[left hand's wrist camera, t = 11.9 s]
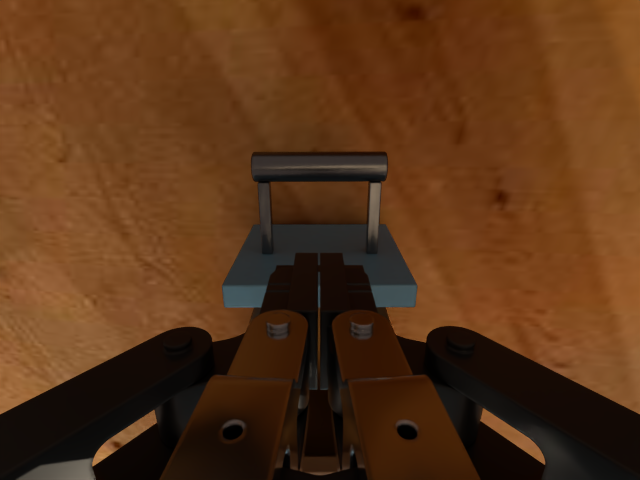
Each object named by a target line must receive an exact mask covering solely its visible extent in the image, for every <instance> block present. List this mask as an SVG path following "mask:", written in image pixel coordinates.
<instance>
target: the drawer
mask: <svg viewBox="0 0 640 480" xmlns="http://www.w3.org/2000/svg"><path fill="white" fill-rule="evenodd" d="M387 172H388V157H387V153H386V152H253V153H252V157H251V173H252V178H253V180H254V181H255V182H258V197H259V213H260V225H253V227H252V229H251V231H250V233H249V235H248V237H247V239H246V241H245V243H244V244H243V246H242V248H241V250H240V252H239V254H238V256H237V258H236V260H235V262H234V264H233V266H232V267H231V269H230V271H229V273H228V275H227V277H226V279H225V281H224V283H223V285H222V291H223V300H224V307H254V310H253V313H252V316H251V319H250V322H251V321H252V320H253V319H254V318H255V317H256V316H258V315H259V313H260V310H261V306H262V303H263V299H264V296H265V292H266V288H267V285H268V281H269V278H270V275H271V274H272V273H273V272H274V271H275V270H277V269H278V268H279V267H293V266H294V260H295V253H318V384H317V390H309V423H308V431H307V438H306V446H305V454H304V457H336V454H335V446H334V438H333V431H332V423H331V407H330V404H329V401H328V390H320V253H343V260H344V267H359V268H360V269H361V270H363V271H364V272H365V273H366V274H367V275H368V278H369V282H370V285H371V289H372V293H373V297H374V300H375V304H376V308H377V312H378V314H380V315H382V316H384V317H385V318H386V319H387V320H388V321H389V322H390V320H389V317H388V314H387V310H386V307H415V304H416V294H417V284H416V282H415V280H414V278H413V276H412V274H411V272H410V270H409V268H408V267H407V265H406V263H405V261H404V259H403V257H402V255H401V253H400V251H399V249H398V247H397V245H396V243H395V241H394V239H393V238H392V236H391V234H390V232H389V230H388V228H387V226H386V225H385V224H379V218H380V201H381V181H385V180H386V178H387ZM358 181H369V182H368V204H367V224H273V221H272V201H271V182H358ZM250 322H249V324H250ZM390 324H391V323H390Z"/></svg>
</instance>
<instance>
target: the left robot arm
mask: <svg viewBox="0 0 640 480" xmlns="http://www.w3.org/2000/svg"><path fill="white" fill-rule="evenodd" d="M317 384H318V253H295V260H294V266H293V267H279V268H278V269H277V270H275V271H274V272H273V273H272V274H271V275H270V278H269V281H268V285H267V288H266V292H265V296H264V299H263V303H262V306H261V310H260V313H259V315H258V316H256V317H255V318H254V319H253V320H252V321H251V322H250V324H249V326H248V328H247V330H246V333H244V334H242V335H240V336H237V337H234V338H231V339H226V340H221V341H216V342H212V338H211V335H210V334H209V333H208V332H207V331H205V330H203V329H201V328H196V327H181V328H176V329H172V330H169V331H166V332H164V333H161V334H159V335H157V336H155V337H153V338H151V339H149V340H147V341H145V342H143V343H141V344H140V345H138V346H136V347H134V348H132V349H130V350H128V351H126V352H124V353H122V354H120V355H118V356H116V357H114V358H112V359H110V360H108V361H106V362H104V363H102V364H100V365H98V366H96V367H94V368H92V369H90V370H88V371H86V372H84V373H82V374H80V375H78V376H76V377H74V378H72V379H70V380H68V381H66V382H64V383H62V384H60V385H58V386H56V387H54V388H52V389H50V390H48V391H46V392H44V393H42V394H40V395H38V396H36V397H34V398H32V399H30V400H28V401H26V402H24V403H22V404H20V405H18V406H16V407H14V408H12V409H10V410H8V411H6V412H4V413H2V414H0V480H640V414H638V413H636V412H634V411H632V410H630V409H628V408H626V407H624V406H622V405H620V404H618V403H616V402H614V401H612V400H610V399H608V398H606V397H604V396H602V395H600V394H598V393H596V392H594V391H592V390H590V389H588V388H586V387H584V386H582V385H580V384H578V383H576V382H574V381H572V380H570V379H568V378H566V377H564V376H562V375H560V374H558V373H556V372H554V371H552V370H550V369H548V368H546V367H544V366H542V365H540V364H538V363H536V362H534V361H532V360H530V359H528V358H526V357H524V356H522V355H520V354H518V353H516V352H514V351H512V350H510V349H508V348H506V347H504V346H502V345H500V344H498V343H497V342H495V341H493V340H491V339H489V338H487V337H485V336H483V335H481V334H479V333H477V332H474V331H472V330H469V329H466V328H462V327H456V326H444V327H439V328H436V329H434V330H432V331H431V332H430V333H429V334H428V336H427V341H426V343H425V342H420V341H415V340H410V339H406V338H403V337H400V336H397V335H395V333H394V330H393V328H392V326H391V324H390V322H389V321H388V320H387V319H386V318H385V317H384V316H382V315H380V314H378V312H377V308H376V304H375V300H374V297H373V293H372V289H371V285H370V282H369V278H368V275H367V274H366V273H365V272H364V271H363V270H361V269H360V268H359V267H344V260H343V253H320V390H328V401H329V404H330V407H331V423H332V431H333V438H334V446H335V454H336V462H337V470H338V472H334V473H330V474H326V475H314V474H310V473H306V472H302V470H303V462H304V454H305V446H306V438H307V431H308V423H309V390H317ZM483 408H484V409H486V410H488V411H489V412H491V413H492V414H494V415H495V416H497V417H498V418H500V419H501V420H503V421H504V422H506V423H507V424H509V425H510V426H512V427H513V428H515V429H517V430H518V431H520V432H521V433H523V434H524V435H526V436H527V437H529V438H530V439H531V440H532V441H533V442H535V444H536V445H537V446H538V447H539V448H540V450H541V451H542V453H543V455H544V458H545V465H544V464H542V463H541V462H539V461H538V460H536V459H535V458H534V457H532V456H531V455H529V454H528V453H526V452H525V451H523V450H522V449H520V448H519V447H517V446H516V445H515V444H513V443H512V442H510V441H509V440H507V439H506V438H504V437H503V436H501V435H500V434H499V433H497V432H496V431H494V430H493V429H491V428H490V427H488V426H487V425H485V424H484V423H483V422H481V421H480V420H481V415H482V410H483ZM152 410H155V415H156V419H157V423H156V424H155V425H153V426H152V427H150V428H149V429H147V430H146V431H144V432H143V433H141V434H140V435H139V436H137V437H136V438H134V439H133V440H131V441H130V442H128V443H127V444H125V445H124V446H122V447H121V448H120V449H118V450H117V451H115V452H114V453H112V454H111V455H109V456H108V457H106V458H105V459H104V460H102V461H101V462H99V463H98V464H96V465H95V466H93V467H92V462H93V458H94V456H95V454H96V452H97V451H98V449H99V448H100V447H101V446H102V445H103V444H104V443H105V442H106V441H107V440H108V439H110V438H111V437H113V436H114V435H116V434H117V433H119V432H120V431H122V430H123V429H125V428H126V427H128V426H130V425H131V424H133V423H134V422H136V421H137V420H139V419H140V418H142V417H143V416H145V415H146V414H148V413H149V412H151V411H152Z"/></svg>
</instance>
